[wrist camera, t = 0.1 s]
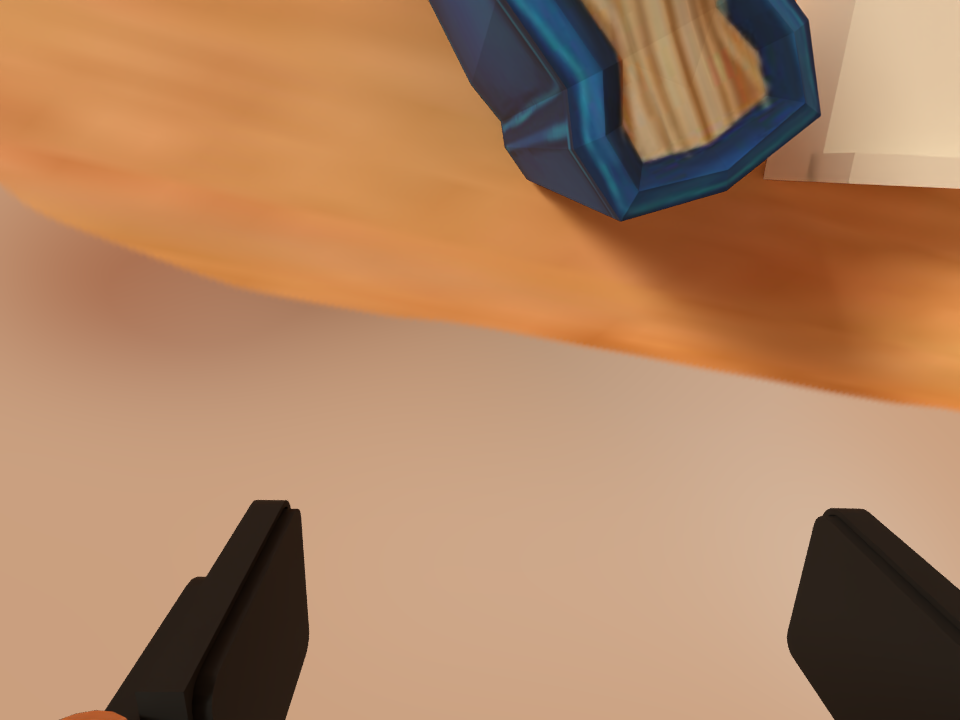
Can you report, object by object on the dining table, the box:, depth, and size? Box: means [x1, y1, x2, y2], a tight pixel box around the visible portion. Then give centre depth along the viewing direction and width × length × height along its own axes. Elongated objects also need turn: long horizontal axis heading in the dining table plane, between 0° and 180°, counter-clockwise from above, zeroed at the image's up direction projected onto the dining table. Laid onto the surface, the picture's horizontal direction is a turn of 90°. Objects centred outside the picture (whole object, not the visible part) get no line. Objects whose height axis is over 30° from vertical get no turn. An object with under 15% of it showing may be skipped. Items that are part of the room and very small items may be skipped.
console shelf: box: [763, 0, 960, 189], centre depth 33 cm, size 10×12×9 cm
